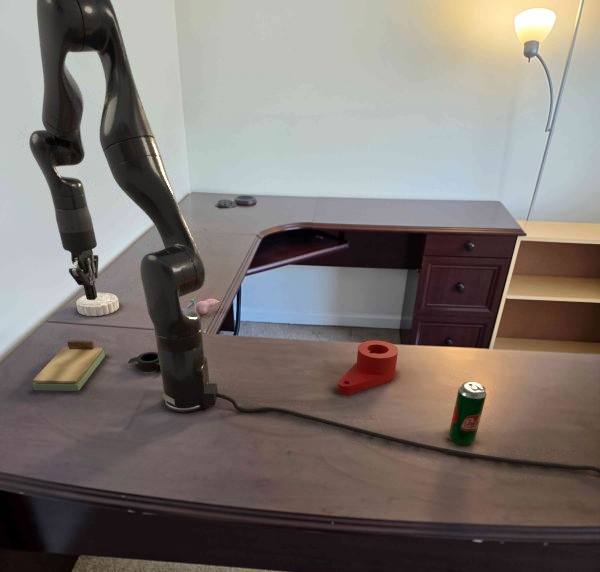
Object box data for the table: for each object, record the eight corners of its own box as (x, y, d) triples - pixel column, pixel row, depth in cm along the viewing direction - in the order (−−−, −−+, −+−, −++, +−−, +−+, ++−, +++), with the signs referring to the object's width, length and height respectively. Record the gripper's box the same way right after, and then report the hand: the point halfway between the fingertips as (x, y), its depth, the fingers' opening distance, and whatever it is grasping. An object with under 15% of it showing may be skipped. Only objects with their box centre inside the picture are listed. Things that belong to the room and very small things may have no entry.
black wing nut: (153, 356, 127) (152, 345, 125) (176, 369, 121) (174, 358, 120) (126, 366, 122) (124, 355, 121) (148, 380, 116) (146, 369, 115)
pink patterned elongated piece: (184, 329, 145) (225, 308, 152) (179, 310, 141) (221, 290, 148) (173, 322, 148) (213, 302, 156) (167, 304, 145) (209, 285, 152)
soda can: (459, 449, 96) (471, 396, 89) (443, 434, 100) (453, 383, 93) (480, 443, 98) (493, 391, 91) (463, 429, 101) (475, 378, 95)
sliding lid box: (105, 357, 126) (103, 350, 125) (79, 392, 111) (77, 384, 110) (66, 356, 126) (64, 349, 125) (34, 391, 111) (32, 384, 110)
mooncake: (87, 319, 146) (84, 308, 144) (72, 308, 153) (69, 296, 152) (125, 310, 153) (123, 298, 151) (109, 299, 160) (107, 288, 158)
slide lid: (102, 349, 125) (100, 340, 123) (76, 383, 110) (73, 373, 109) (64, 348, 125) (61, 339, 123) (33, 382, 110) (29, 372, 109)
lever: (371, 360, 126) (373, 337, 123) (402, 373, 121) (405, 349, 117) (324, 386, 115) (326, 360, 112) (356, 401, 110) (359, 375, 106)
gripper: (81, 234, 109) (97, 308, 118) (101, 221, 121) (115, 290, 130) (47, 234, 109) (66, 308, 119) (71, 221, 121) (87, 290, 130)
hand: (92, 298), depth 124 cm, fingers closed
